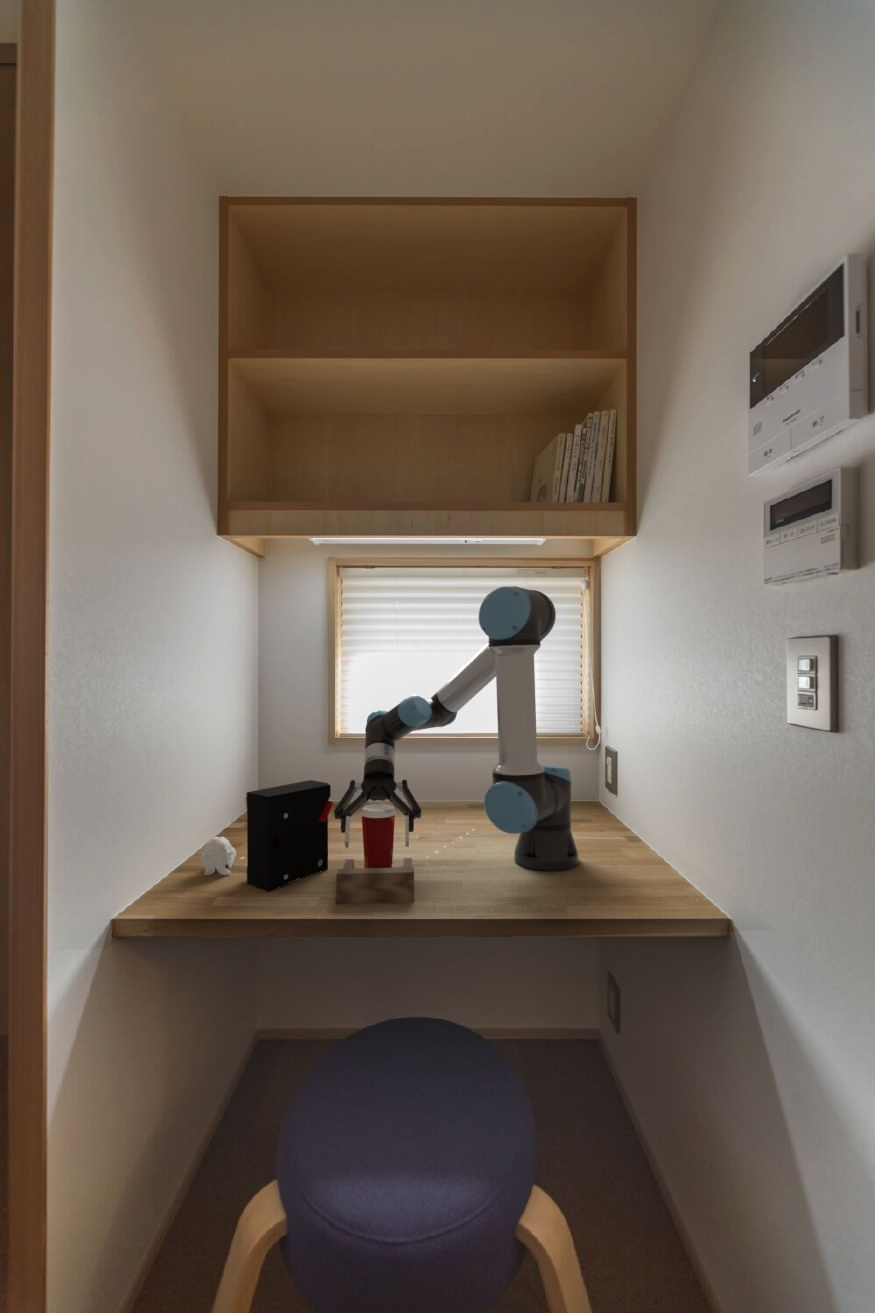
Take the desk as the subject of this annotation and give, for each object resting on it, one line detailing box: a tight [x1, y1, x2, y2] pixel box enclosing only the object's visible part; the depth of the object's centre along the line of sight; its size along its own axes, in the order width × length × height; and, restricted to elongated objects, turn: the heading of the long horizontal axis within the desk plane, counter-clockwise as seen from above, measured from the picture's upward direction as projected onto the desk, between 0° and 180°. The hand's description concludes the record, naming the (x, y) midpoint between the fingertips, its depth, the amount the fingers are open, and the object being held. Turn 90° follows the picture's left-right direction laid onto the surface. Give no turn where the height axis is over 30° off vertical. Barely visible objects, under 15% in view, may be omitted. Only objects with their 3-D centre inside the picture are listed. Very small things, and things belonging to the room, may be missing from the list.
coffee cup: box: [359, 803, 397, 868], centre depth 149 cm, size 8×8×15 cm
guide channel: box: [335, 857, 415, 905], centre depth 143 cm, size 16×22×6 cm
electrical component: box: [245, 779, 334, 893], centre depth 147 cm, size 18×10×20 cm, turn 141°
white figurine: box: [200, 836, 238, 877], centre depth 151 cm, size 6×8×12 cm
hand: (376, 844), depth 148 cm, fingers open, 13 cm apart
